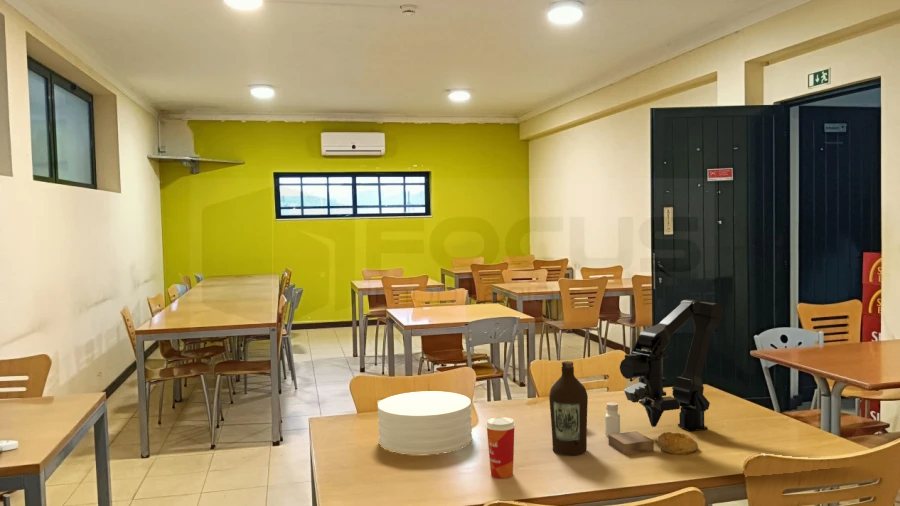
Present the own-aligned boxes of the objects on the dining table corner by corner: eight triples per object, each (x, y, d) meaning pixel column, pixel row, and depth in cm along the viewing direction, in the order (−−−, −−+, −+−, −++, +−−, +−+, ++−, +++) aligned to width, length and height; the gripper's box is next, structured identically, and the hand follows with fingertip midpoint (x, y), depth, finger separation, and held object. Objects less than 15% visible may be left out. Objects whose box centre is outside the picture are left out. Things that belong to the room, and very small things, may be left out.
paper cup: (485, 470, 176) (483, 417, 175) (514, 468, 176) (512, 415, 176) (489, 481, 168) (487, 426, 167) (519, 479, 169) (518, 424, 168)
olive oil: (553, 443, 196) (551, 358, 195) (590, 445, 193) (588, 359, 192) (547, 455, 186) (545, 365, 185) (586, 458, 182) (584, 366, 182)
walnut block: (636, 441, 195) (636, 431, 195) (653, 451, 187) (653, 440, 186) (608, 444, 193) (608, 434, 193) (624, 454, 184) (624, 444, 184)
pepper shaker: (620, 433, 203) (619, 402, 202) (619, 437, 199) (618, 405, 199) (606, 432, 204) (606, 401, 204) (605, 436, 200) (604, 405, 200)
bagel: (704, 455, 183) (703, 437, 182) (663, 456, 183) (663, 439, 183) (691, 443, 193) (690, 427, 192) (652, 444, 193) (652, 428, 192)
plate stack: (491, 437, 204) (489, 399, 203) (425, 463, 183) (424, 421, 183) (425, 421, 223) (424, 387, 222) (359, 442, 202) (358, 405, 202)
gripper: (612, 370, 205) (613, 420, 205) (645, 383, 187) (646, 439, 187) (644, 367, 207) (645, 417, 208) (680, 379, 189) (681, 434, 190)
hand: (653, 426), depth 198 cm, fingers closed
